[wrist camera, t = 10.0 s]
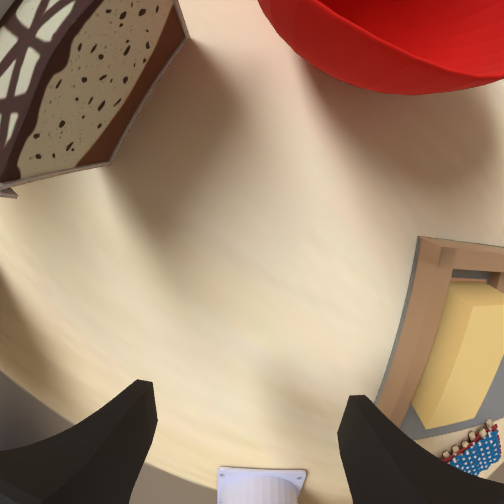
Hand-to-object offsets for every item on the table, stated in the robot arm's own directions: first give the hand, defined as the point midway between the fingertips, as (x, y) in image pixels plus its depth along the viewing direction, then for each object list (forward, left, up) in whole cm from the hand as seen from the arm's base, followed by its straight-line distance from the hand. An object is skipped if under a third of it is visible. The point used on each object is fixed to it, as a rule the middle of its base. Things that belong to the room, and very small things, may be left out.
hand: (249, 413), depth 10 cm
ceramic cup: (+20, -6, -10) cm, 23 cm away
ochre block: (-2, -14, -9) cm, 17 cm away
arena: (-4, -19, -9) cm, 21 cm away
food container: (+14, +10, -10) cm, 20 cm away
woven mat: (-19, -25, -9) cm, 32 cm away
